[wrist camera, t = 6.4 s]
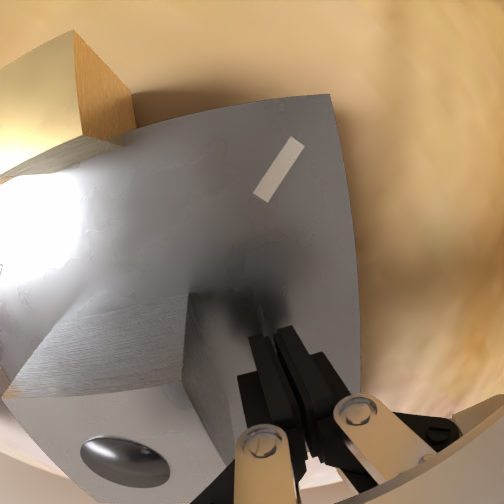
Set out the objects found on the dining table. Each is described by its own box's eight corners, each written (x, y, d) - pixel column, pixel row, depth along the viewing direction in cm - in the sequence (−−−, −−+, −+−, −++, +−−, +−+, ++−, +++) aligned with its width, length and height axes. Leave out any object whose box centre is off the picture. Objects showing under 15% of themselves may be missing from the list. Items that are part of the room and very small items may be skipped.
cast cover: (188, 293, 11) (181, 385, 6) (229, 406, 12) (244, 497, 7) (56, 323, 10) (-1, 400, 5) (115, 423, 12) (98, 504, 7)
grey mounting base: (291, 61, 12) (358, -9, 5) (340, 403, 17) (383, 475, 11) (-29, 168, 10) (-112, 179, 3) (97, 449, 16) (82, 519, 9)
